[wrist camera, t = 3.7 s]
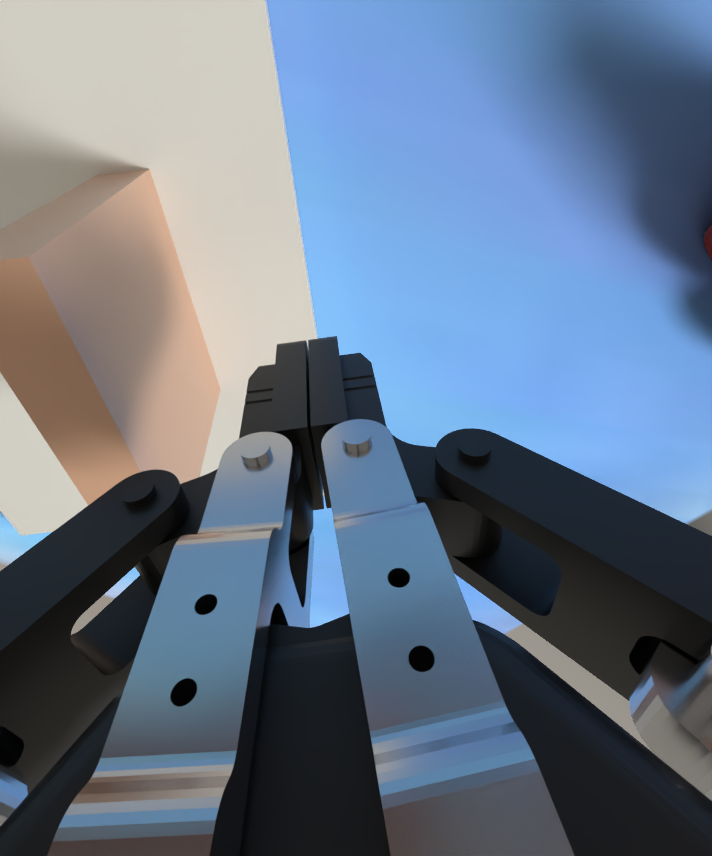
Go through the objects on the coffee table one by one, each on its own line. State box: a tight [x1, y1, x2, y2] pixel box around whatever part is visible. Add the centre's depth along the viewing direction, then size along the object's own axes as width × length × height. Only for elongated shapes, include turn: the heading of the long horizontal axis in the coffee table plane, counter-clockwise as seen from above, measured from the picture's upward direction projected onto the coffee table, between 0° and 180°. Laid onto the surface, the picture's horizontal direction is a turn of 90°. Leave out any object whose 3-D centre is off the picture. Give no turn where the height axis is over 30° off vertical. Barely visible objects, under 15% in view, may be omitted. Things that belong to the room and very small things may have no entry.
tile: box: [0, 169, 221, 505], centre depth 13 cm, size 8×2×8 cm, turn 5°
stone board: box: [0, 0, 324, 535], centre depth 17 cm, size 22×16×1 cm
